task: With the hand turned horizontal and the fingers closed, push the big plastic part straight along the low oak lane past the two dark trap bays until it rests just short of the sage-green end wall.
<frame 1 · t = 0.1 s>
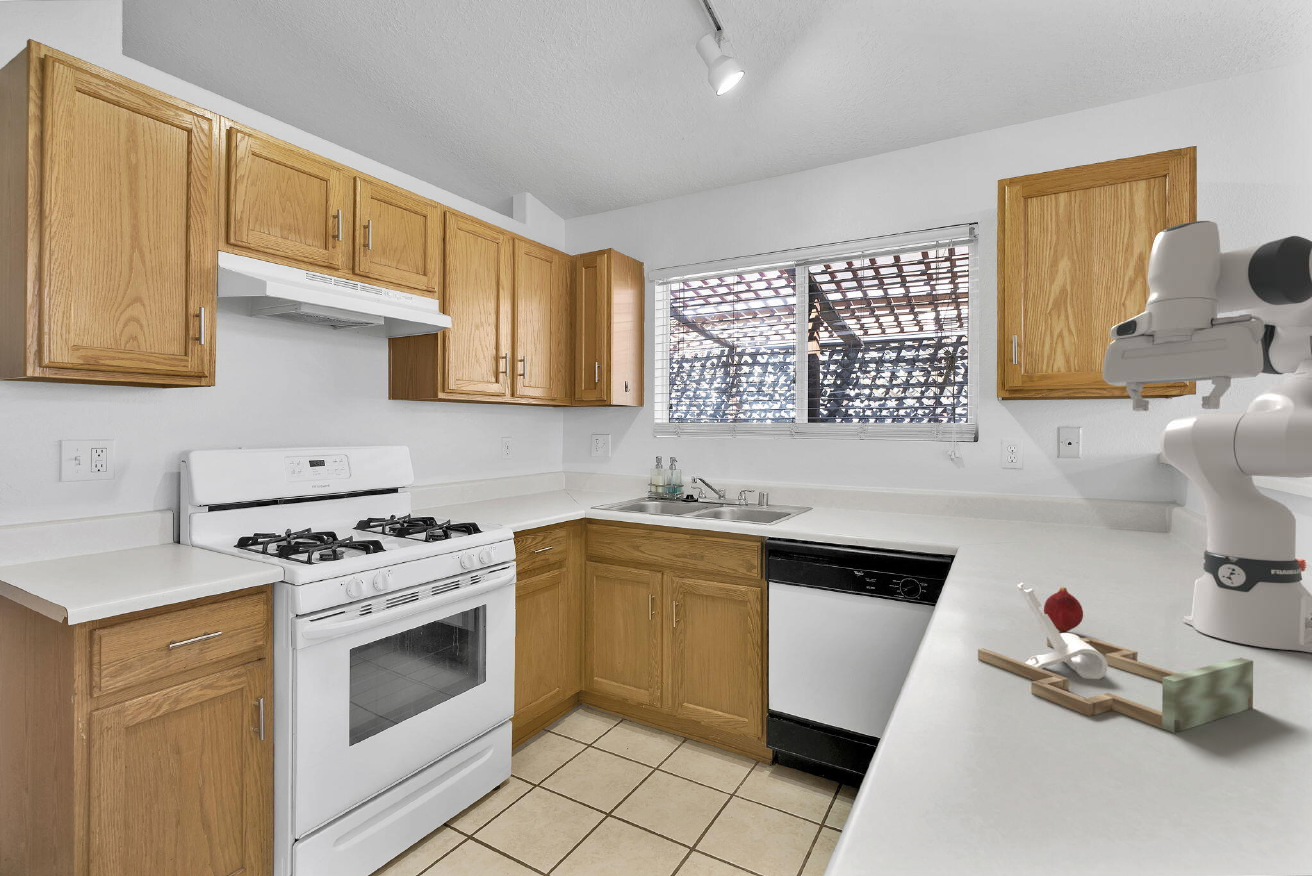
hand: (1173, 409, 98), 39 cm above the countertop, tool pointing down, fingers open, 8 cm apart
onion: (1063, 633, 109), on the countertop
trap lane: (1073, 671, 90), on the countertop
plastic part: (1059, 669, 92), on the countertop
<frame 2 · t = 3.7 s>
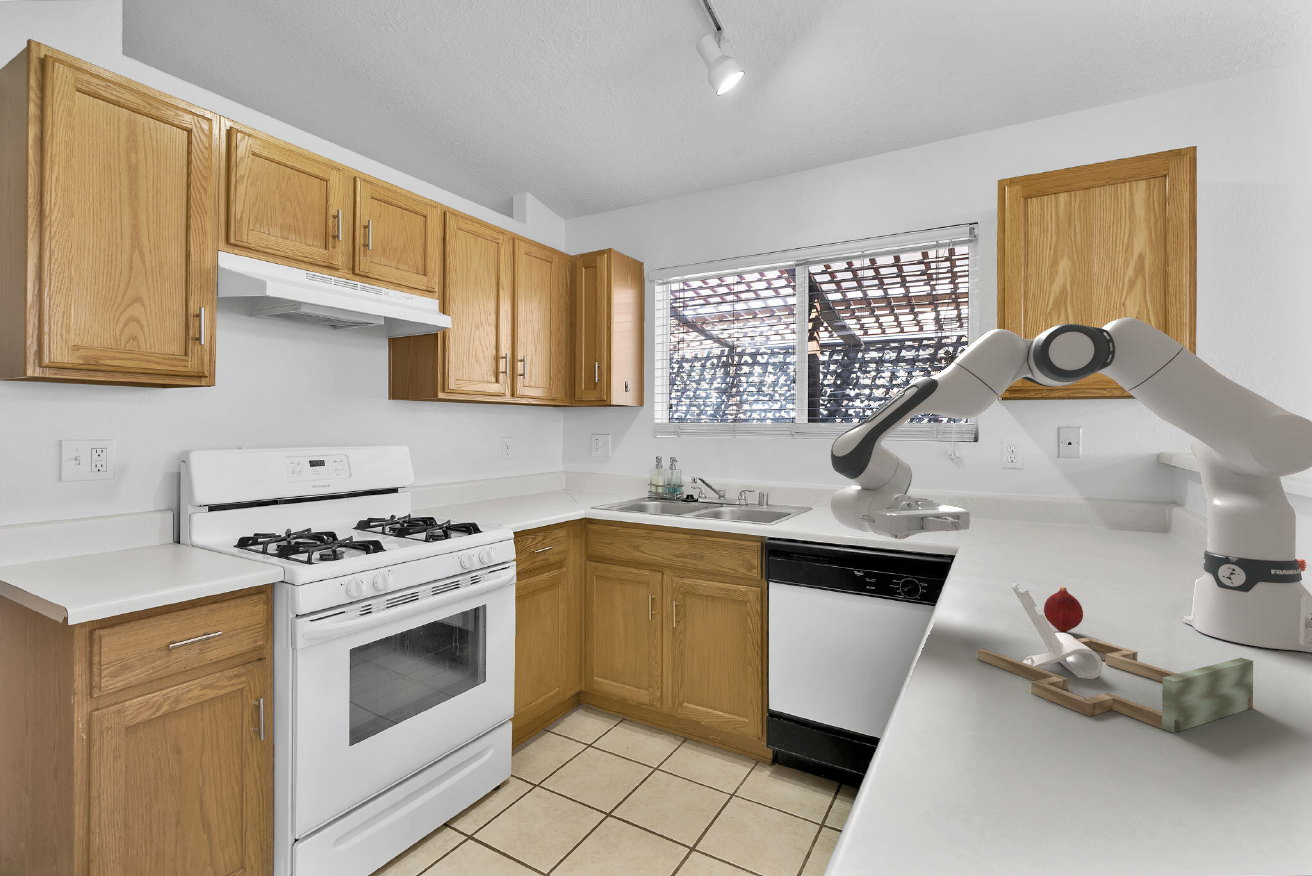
hand: (955, 526, 109), 18 cm above the countertop, tool horizontal, fingers closed
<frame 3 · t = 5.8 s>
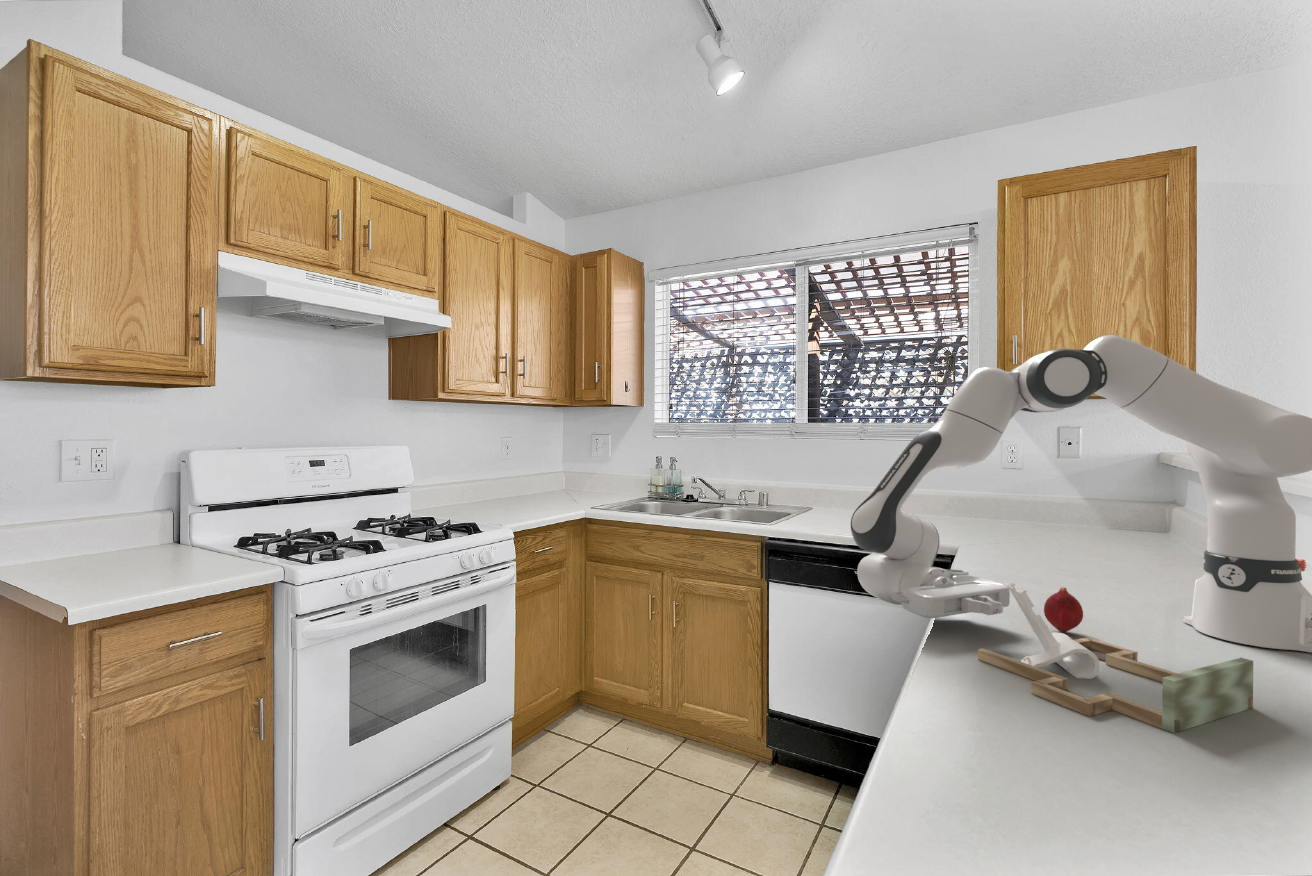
hand: (997, 609, 102), 6 cm above the countertop, tool horizontal, fingers closed
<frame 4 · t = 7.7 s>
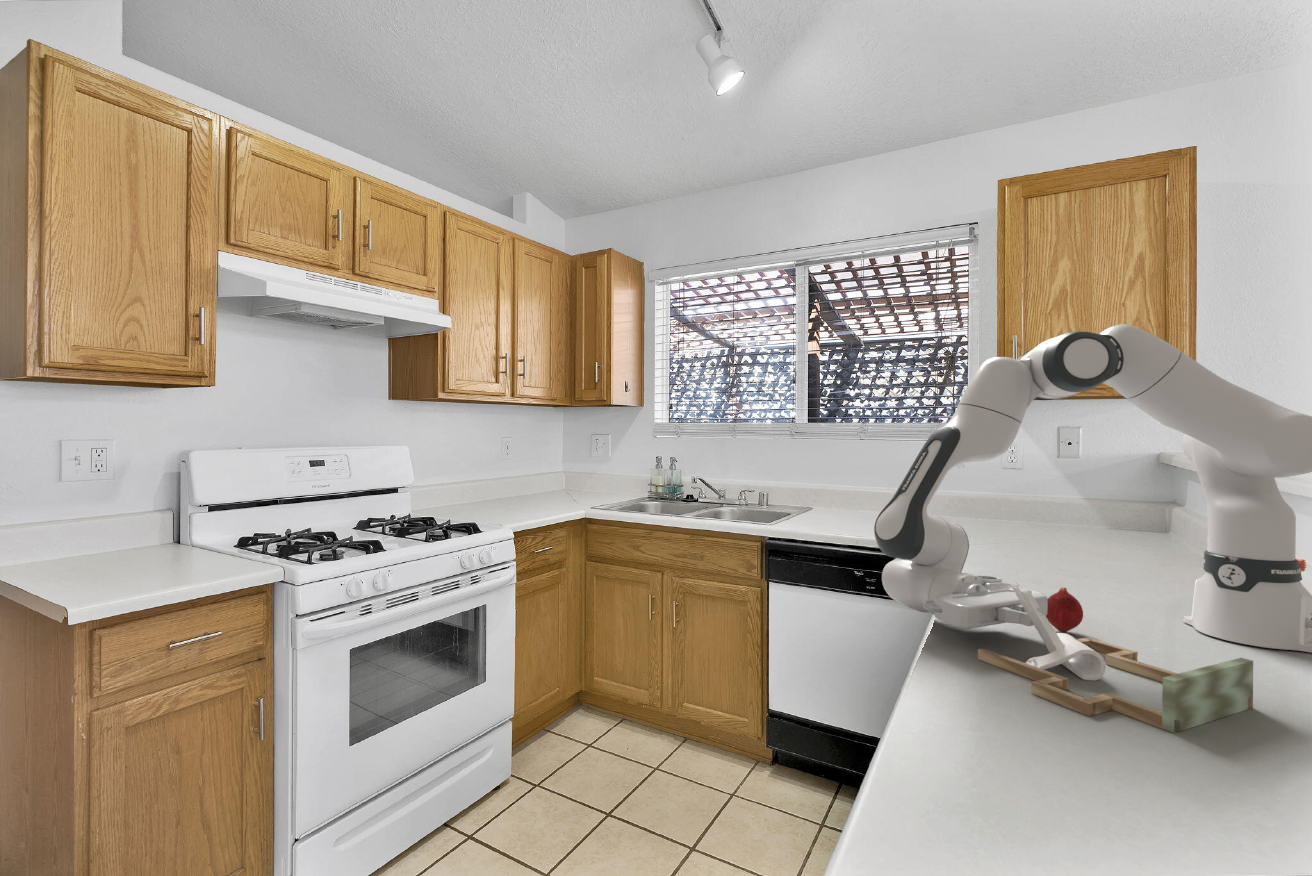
hand: (1037, 620, 95), 6 cm above the countertop, tool horizontal, fingers closed
plastic part: (1055, 670, 91), on the countertop, touching gripper
everything else where it was.
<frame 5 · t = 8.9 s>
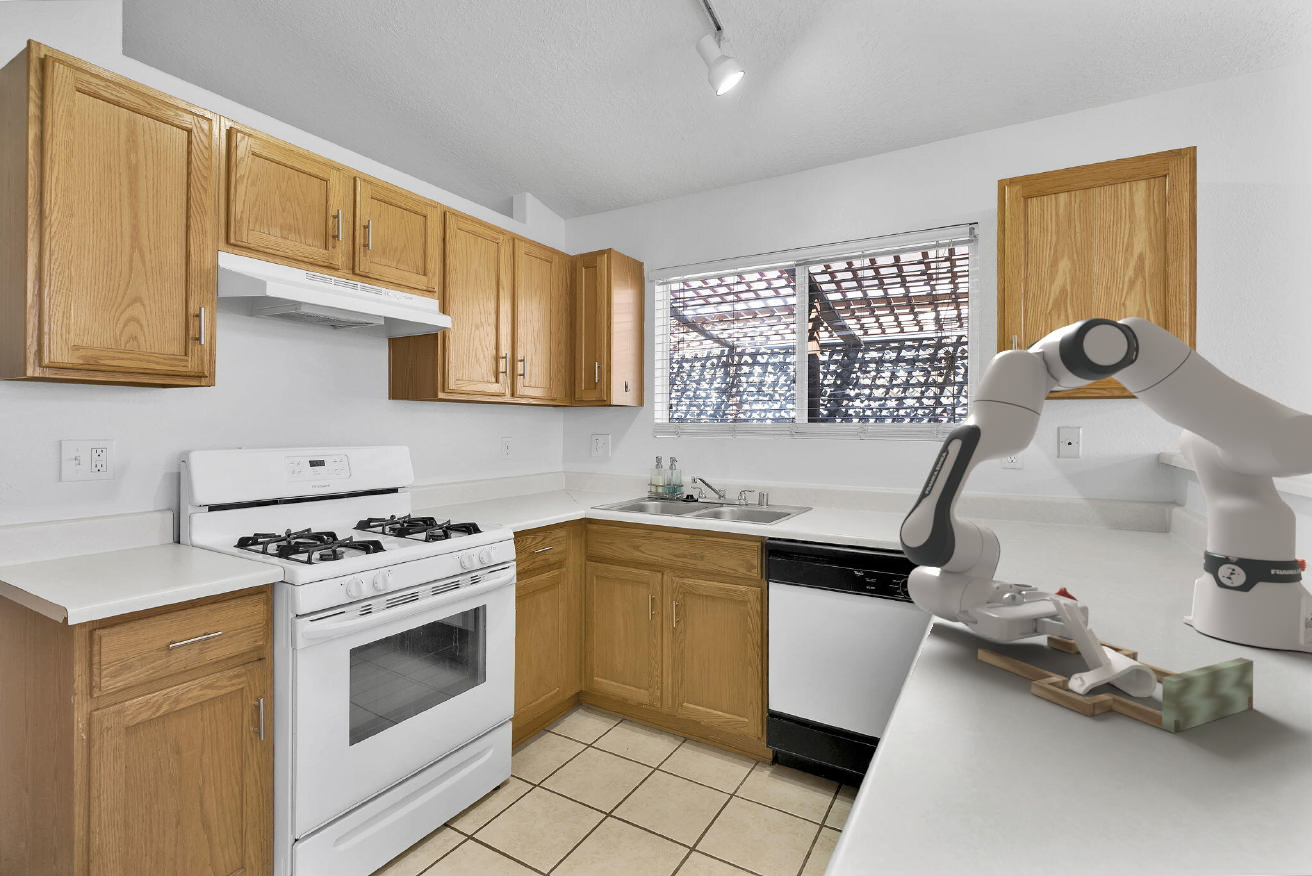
hand: (1080, 632, 89), 6 cm above the countertop, tool horizontal, fingers closed
plastic part: (1100, 686, 85), on the countertop, touching gripper
everything else where it was.
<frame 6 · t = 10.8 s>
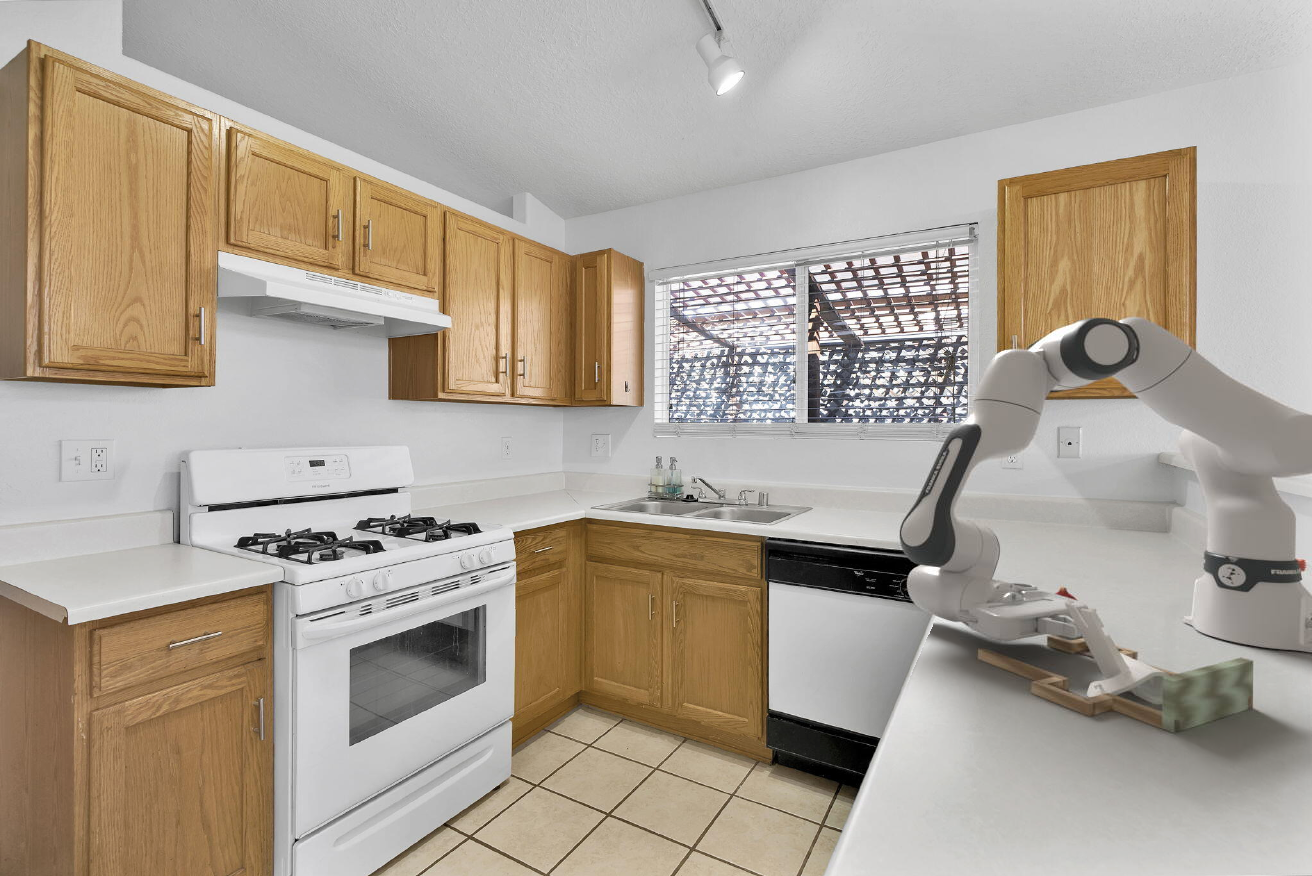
hand: (1081, 631, 89), 6 cm above the countertop, tool horizontal, fingers closed
plastic part: (1117, 694, 83), on the countertop
everything else where it was.
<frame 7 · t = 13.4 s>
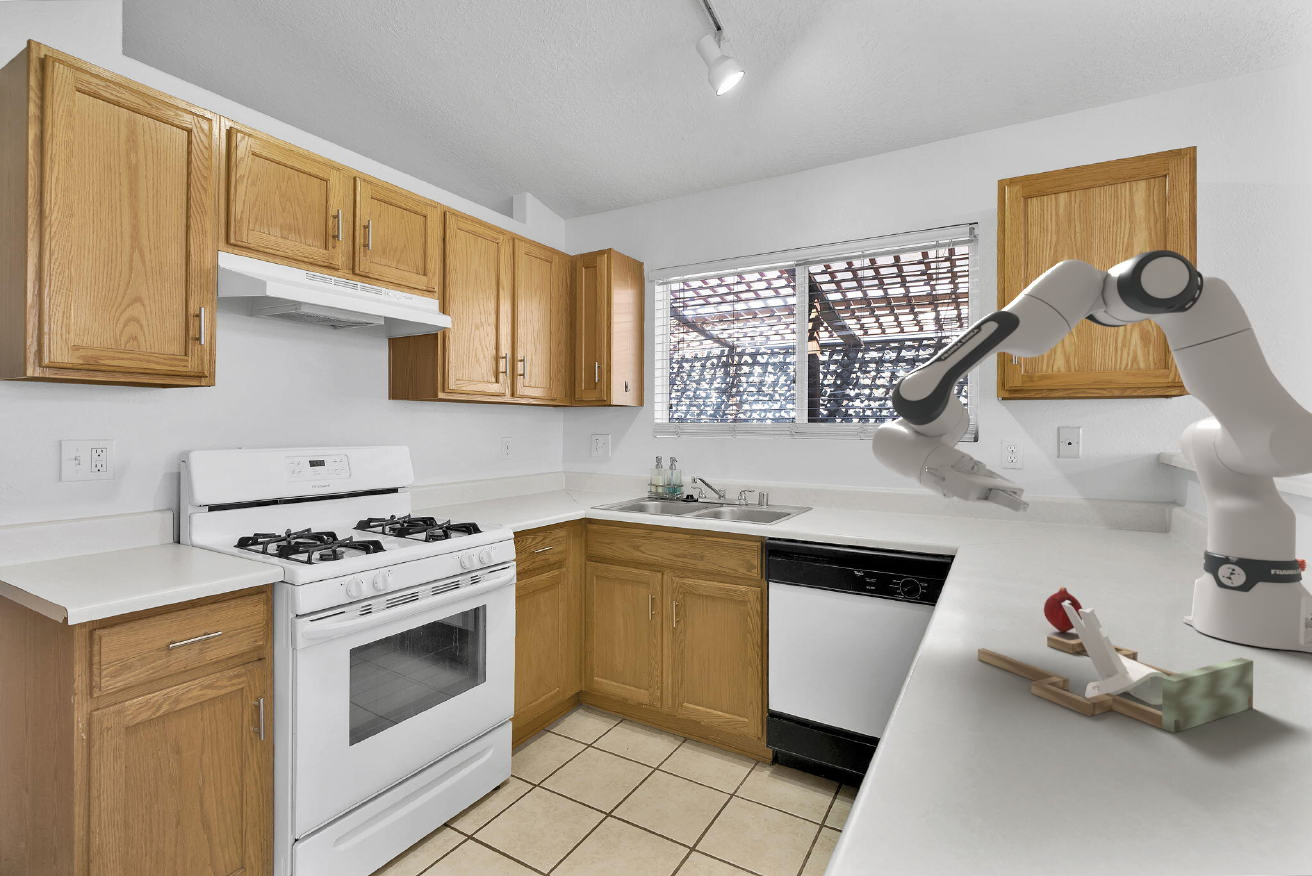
hand: (1024, 508, 102), 23 cm above the countertop, tool tilted 70°, fingers closed
nothing on the countertop moved.
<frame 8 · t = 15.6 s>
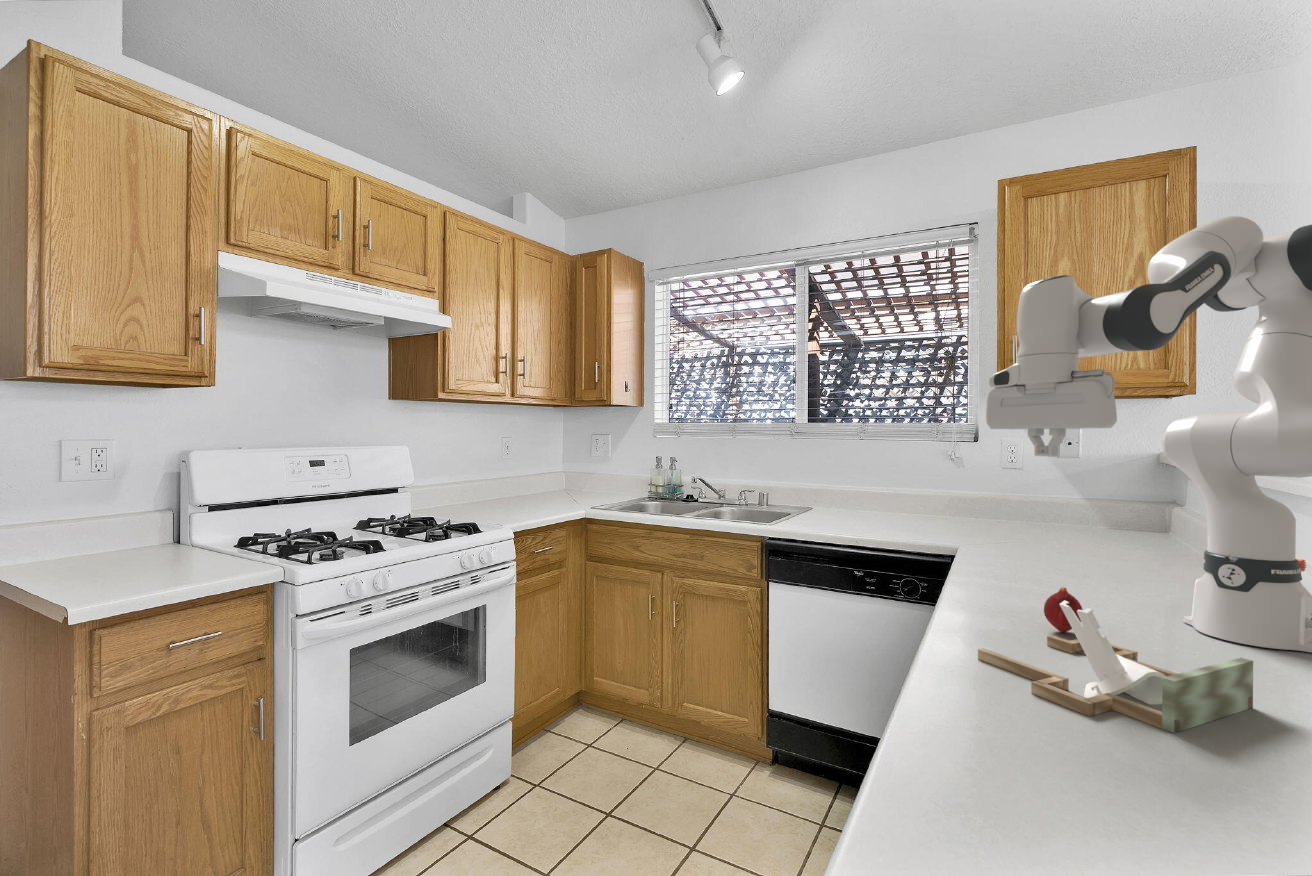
hand: (1046, 456, 103), 31 cm above the countertop, tool pointing down, fingers closed
nothing on the countertop moved.
at the end: plastic part inside the target area (3.9 cm from its centre), on the countertop; plastic part moved 9.3 cm from its start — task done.
